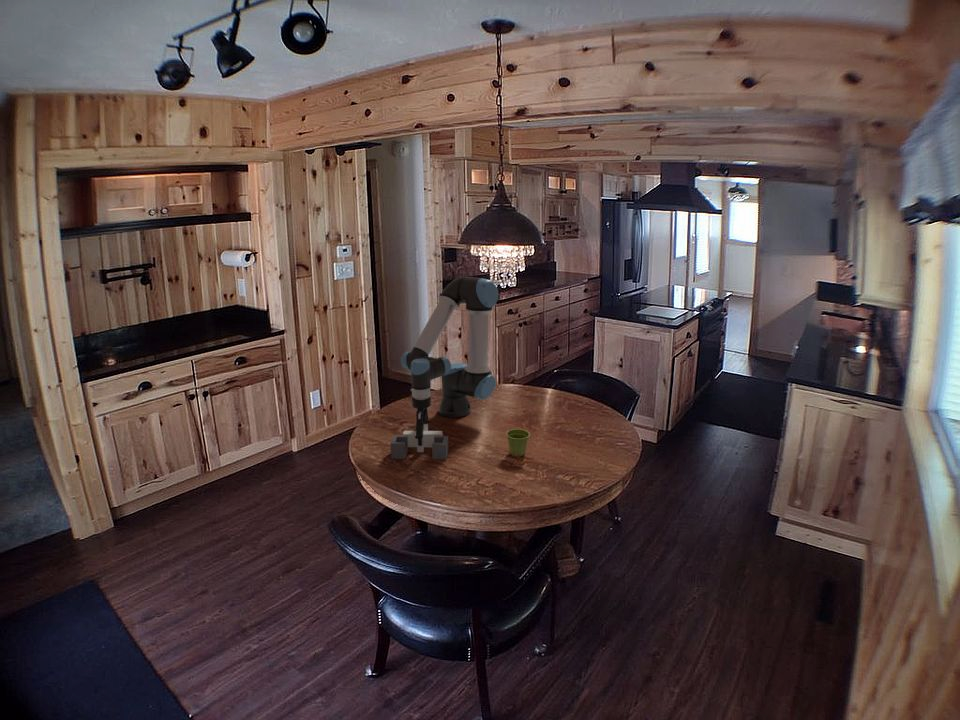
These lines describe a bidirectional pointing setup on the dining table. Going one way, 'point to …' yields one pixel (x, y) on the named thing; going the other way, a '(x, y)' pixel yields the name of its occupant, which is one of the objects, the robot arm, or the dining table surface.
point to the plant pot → (517, 441)
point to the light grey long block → (426, 434)
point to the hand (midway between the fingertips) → (422, 445)
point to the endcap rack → (401, 447)
